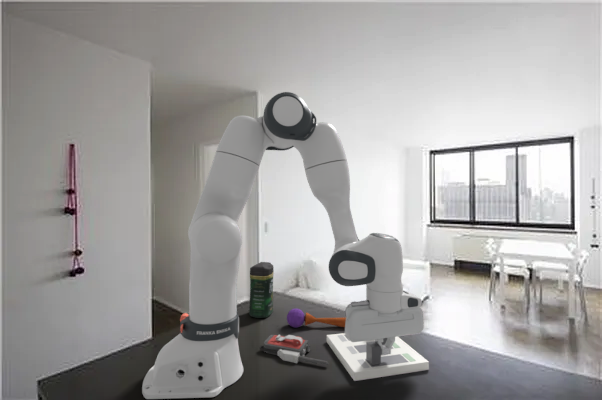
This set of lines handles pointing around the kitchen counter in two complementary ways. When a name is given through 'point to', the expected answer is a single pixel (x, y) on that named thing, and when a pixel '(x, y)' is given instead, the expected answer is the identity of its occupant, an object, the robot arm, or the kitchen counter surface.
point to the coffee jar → (261, 290)
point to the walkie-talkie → (289, 348)
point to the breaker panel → (391, 364)
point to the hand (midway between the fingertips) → (384, 353)
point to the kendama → (311, 319)
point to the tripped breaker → (373, 353)
